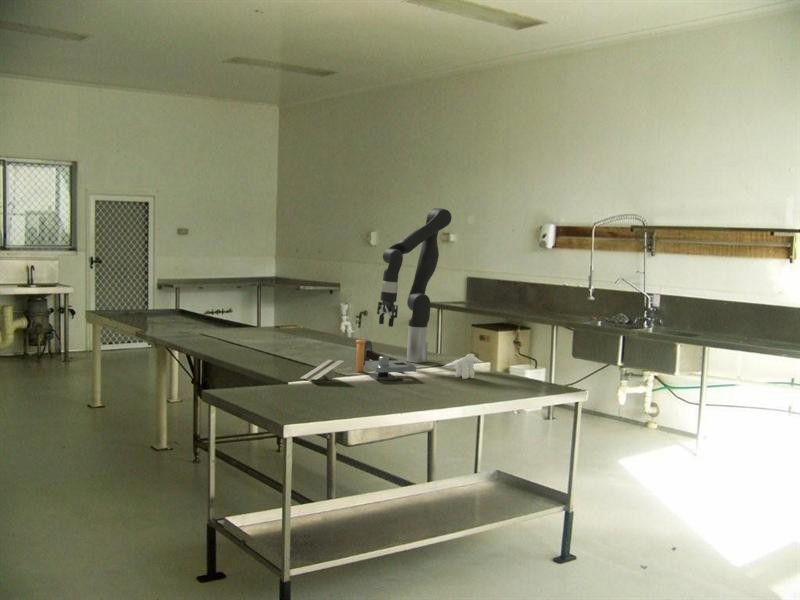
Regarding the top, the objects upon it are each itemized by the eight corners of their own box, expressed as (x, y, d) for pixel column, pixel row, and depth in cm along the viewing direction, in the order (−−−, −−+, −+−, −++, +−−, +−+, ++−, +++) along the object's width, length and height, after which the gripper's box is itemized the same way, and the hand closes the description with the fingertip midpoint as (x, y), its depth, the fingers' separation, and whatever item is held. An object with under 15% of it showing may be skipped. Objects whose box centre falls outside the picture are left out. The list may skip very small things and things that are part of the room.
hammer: (403, 379, 381) (362, 360, 403) (407, 356, 379) (365, 338, 401) (395, 380, 378) (354, 361, 400) (399, 356, 376) (357, 338, 397)
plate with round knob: (375, 381, 354) (376, 360, 353) (364, 374, 369) (365, 354, 368) (415, 380, 361) (416, 360, 360) (402, 373, 376) (403, 353, 375)
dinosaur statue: (477, 380, 363) (477, 355, 363) (437, 377, 380) (436, 352, 380) (487, 379, 368) (487, 354, 368) (447, 375, 385) (446, 351, 385)
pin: (362, 370, 379) (363, 339, 377) (365, 372, 375) (366, 341, 373) (353, 370, 377) (354, 339, 376) (356, 372, 373) (357, 341, 372)
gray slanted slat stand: (329, 394, 343) (353, 368, 349) (316, 379, 340) (340, 353, 347) (312, 392, 357) (335, 368, 363) (299, 378, 354) (322, 353, 361)
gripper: (404, 293, 393) (400, 327, 394) (388, 290, 405) (384, 323, 406) (390, 292, 389) (387, 327, 390) (374, 289, 401) (371, 323, 402)
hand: (385, 325), depth 398 cm, fingers open, 8 cm apart
